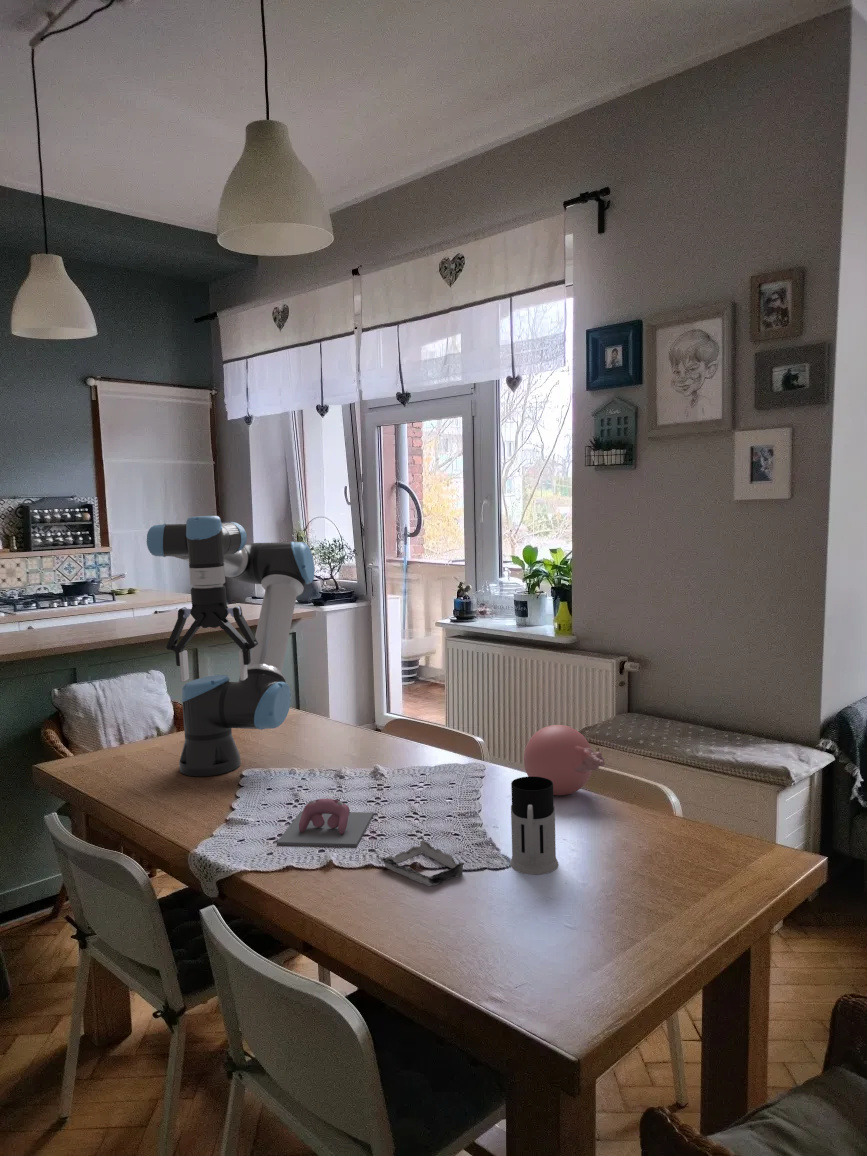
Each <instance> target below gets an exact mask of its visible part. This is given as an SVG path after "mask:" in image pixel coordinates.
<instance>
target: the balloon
mask: <svg viewBox="0 0 867 1156" xmlns="http://www.w3.org/2000/svg"><path fill="white" fill-rule="evenodd" d="M525 745H526V746H525V748H524V751H523V752H524V753H523V766H524V770H525V772H526V775H527V777H529V776H534V777H543V778H547V779H549V780H551V781H552V782H553V796H567V795H570V794H573V793H576V792H578V791H579V790H581V789H582V788H583V787H584V786H585V785H586V784H587V783H588V781H589V779H590V777H591V775H592V772H593V771H597V770H598V769H599V767H604V766H605V759H604V757H602V756H603V754H602V752H600V751H595V752H594V750H593V749H592V747H591V745H590V743H589V741H588V740H587V738H586V737H585V736H584V735H583V734H582V733H581V732H580V731H578V730H576V729H575V728H573V727H571V726H568V725H564V724H552V725H547V726H544V727H542V728H540V729H539V730H537V731H536V732H535V733H533V735H531V737H530V738H529V740H528V742H527V743H526V744H525Z"/></svg>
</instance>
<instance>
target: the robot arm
mask: <svg viewBox="0 0 867 1156" xmlns="http://www.w3.org/2000/svg"><path fill="white" fill-rule="evenodd" d="M247 539H248V536H247V532H246V530H245V528H244V526H243V525H241V524H240V523H237V522H235V521H223V522H222V520H221V517H220V516H219V515H199V516H198V515H197V516H190V517H188V518H187V519H186V522H185V523H179V524H178V523H176V524H175V523H174V524H173V523H171V524H170V523H168V524H167V523H163V524H162V523H161V524H157V525H156V524H155V525H153V526H151V527H150V528H149V529H148V530H147V534H146V547H147V550H148V551H149V553H150V555H152V556H154V557H162V558H166V557H173V558H177V559H181V560H183V561H186V562H188V567H189V568H188V572H189V585H191V586H192V587H191V589H190V599H191V608H187V607H185V606H184V607H181V608H179V609H178V610H177V620H176V622H175V624H174V627H173V629H172V631H171V634H170V636H169V639H168V641H167V644H166V647H165V648H166V649H167V650H168V651H173V652H174V654H175V665H176V666H177V667H180V679H181V682H186V681H187V682H186V683H185V684H184V685H183V686H182V690H181V693H182V694H181V696H182V697H181V703H182V704H181V705H182V715H183V716H182V717H183V728H184V730H183V731H184V732H183V733H184V742H183V746H182V750H181V754H180V758H179V760H178V761H179V763H178V764H179V772H180V773H181V774H182V775H185V776H189V777H210V776H218V775H223V774H226V773H229V772H232V771H234V770H236V769H238V768H239V767H240V766H241V764H242V763H241V753H240V752H239V749H238V746H237V744H236V741H235V739H234V737H233V732H232V730H233V729H242V730H243V729H248V730H249V729H251V730H261V731H264V730H266V729H267V730H268V729H276V728H279V727H280V725H282V724H283V723H284V722H285V720H286V719H287V717H288V714H289V712H290V708H291V701H292V700H291V697H292V694H291V693H292V692H291V688H290V686H289V685H288V683H287V680H286V678H285V676H284V675H283V674H282V673H283V672H282V671H283V667H284V661H285V657H286V652H287V646H288V641H289V636H290V632H291V627H292V623H293V617H294V610H295V606H296V602H297V597H299V596H301V595H302V594H303V593H304V590H305V585H309V584H312V583H313V581H314V579H315V562H314V558H313V554H312V550H311V549H310V547H309V545H308V544H307V543H305V542H303V541H300V542H299V541H293V540H292V541H290V542H289V541H288V542H286V541H285V542H282V541H281V542H252V543H247ZM226 578H230V579H232V580H237V581H239V582H243V583H248V584H253V585H261V587H262V588H263V589H264V593H263V600H262V604H261V609H260V613H259V617H258V623H257V627H256V631H255V634H254V633H253V631H252V629H251V628H250V626H249V624H248V622H247V620H246V618H245V617H244V615H243V610H242V607H241V605H237V606H234V607H229V606H228V604H227V601H228V599H227V589H226V585H224V584H225V583H226ZM229 614H230V616H231V617H232V618H234V621H235V623H236V625H237V626H238V628H239V630H240V632H241V633H240V632H239V631H238V630H237V628H235V627H234V626H233V624H232V622H231V621H230V620H229V619H228V618H227V617H228V616H229ZM190 616H191V617H192V618H193V619H194V620H193V622H192V623H191V625H190V627H189V628H188V630H187V631H186V633H185V634H184V635H183V637H182V638H180V637H181V634H182V632H183V629H184V626H185V624H186V621H187V619H188V618H189V617H190ZM201 627H202V629H207V628H212V629H216V628H217V629H218V627H219V628H220V629H221V630H222V631H224V632H225V633H226V634H227V635H228V636H229V637H230V639H232V640H233V642H234V643H235V644H236V645H237V646H238V647H239V648H240V650H239V651H238V661H239V674H240V675H239V680H238V681H230V677H229V675H228V674H227V675H226V674H216V675H209V676H205V677H200V678H196V679H193V680H190V681H188V680H189V679H190V671H189V670H190V669H189V656H188V650H186V649H185V648H186V646H187V645H188V643H189V642H190V641H191V640H192V639H193V637H194V636H195V634H196V633H197V631H198V630H200V628H201ZM179 639H180V640H179Z"/></svg>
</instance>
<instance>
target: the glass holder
mask: <svg viewBox="0 0 867 1156" xmlns="http://www.w3.org/2000/svg"><path fill="white" fill-rule="evenodd" d="M510 785H511V788H510V789H511V806H510V814H511V815H510V817H511V818H510V820H511V821H510V822H511V823H510V825H511V855H512V856H511V859H510V861H509V866H510V867H511V868H512V869H513V870H514V871H516V872H518V873H521V874H526V875H535V876H536V875H539V876H540V875H545V874H549V873H552V872H553V871H556V869H558V867H559V861H558V859H557V853H556V849H557V848H556V813H555V812H556V811H555V810H556V809H555V805H554V804H555V803H554V802H555V801H554V795H553V782H552V781H551V780H549V779H547V778H543V777H534V776H529V777H528V776H522V777H517V778H515V779H513V780H512V781H511V783H510Z"/></svg>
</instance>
